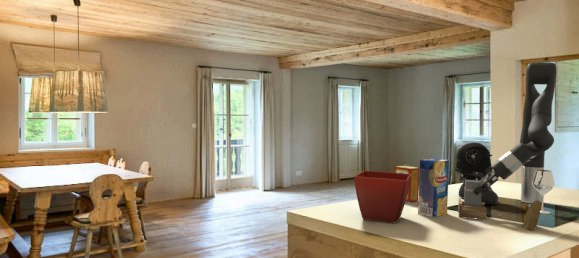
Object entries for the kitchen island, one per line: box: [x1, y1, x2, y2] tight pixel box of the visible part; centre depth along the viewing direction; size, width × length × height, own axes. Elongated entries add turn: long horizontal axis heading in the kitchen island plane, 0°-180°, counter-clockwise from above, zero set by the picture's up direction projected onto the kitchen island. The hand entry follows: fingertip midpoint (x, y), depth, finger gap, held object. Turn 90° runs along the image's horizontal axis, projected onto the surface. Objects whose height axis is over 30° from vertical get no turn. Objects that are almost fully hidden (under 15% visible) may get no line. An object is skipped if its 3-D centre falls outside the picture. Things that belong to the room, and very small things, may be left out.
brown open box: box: [457, 198, 488, 220], centre depth 180 cm, size 12×10×6 cm
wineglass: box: [532, 169, 555, 215], centre depth 190 cm, size 8×8×18 cm
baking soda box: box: [393, 165, 420, 203], centre depth 211 cm, size 10×6×16 cm
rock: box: [522, 201, 542, 231], centre depth 163 cm, size 11×9×10 cm
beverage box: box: [417, 158, 450, 218], centre depth 181 cm, size 7×11×22 cm, turn 132°
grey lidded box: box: [463, 180, 482, 207], centre depth 180 cm, size 5×6×11 cm
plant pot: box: [353, 170, 411, 224], centre depth 171 cm, size 19×19×17 cm
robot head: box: [454, 142, 499, 206], centre depth 217 cm, size 30×17×29 cm, turn 179°
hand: (474, 191), depth 180 cm, fingers open, 8 cm apart
